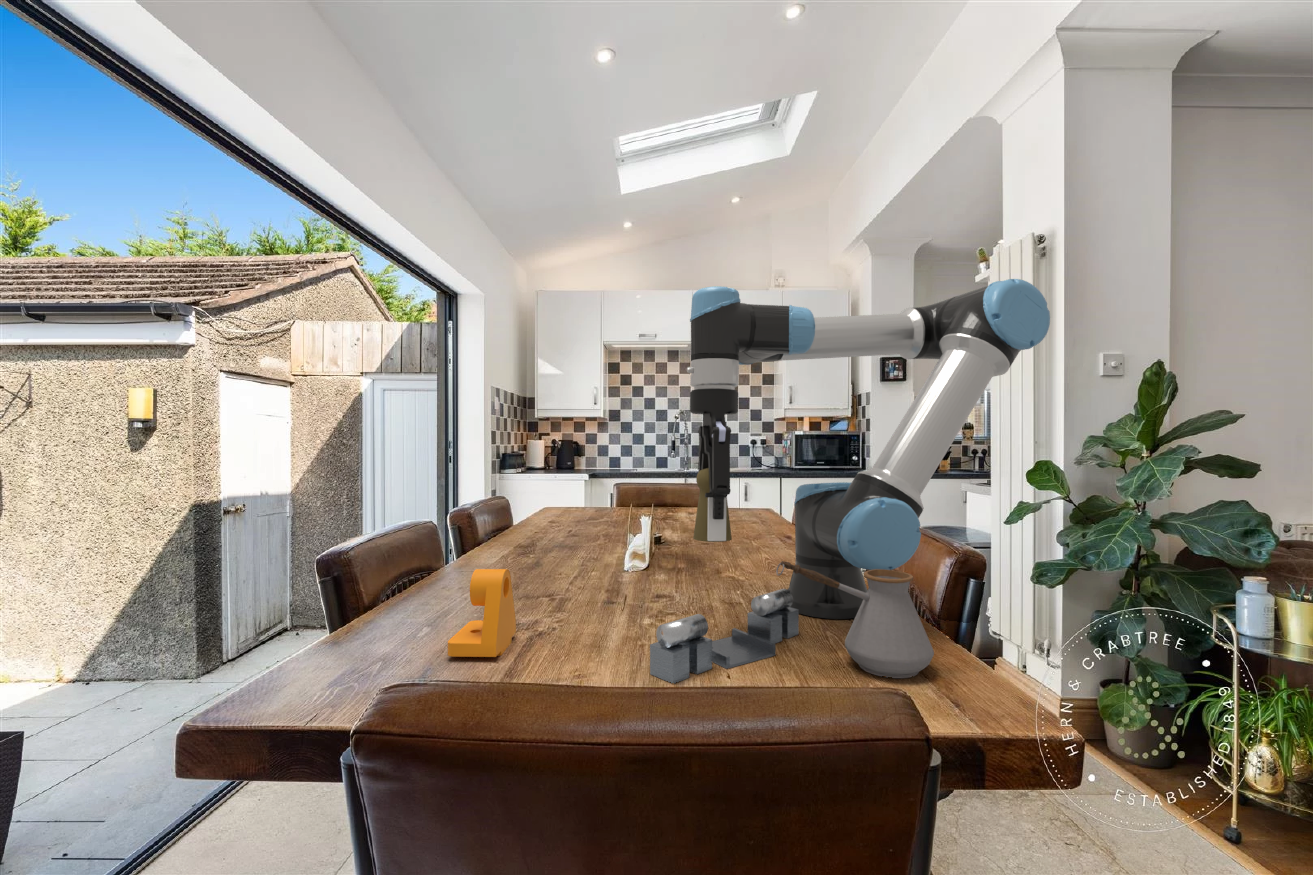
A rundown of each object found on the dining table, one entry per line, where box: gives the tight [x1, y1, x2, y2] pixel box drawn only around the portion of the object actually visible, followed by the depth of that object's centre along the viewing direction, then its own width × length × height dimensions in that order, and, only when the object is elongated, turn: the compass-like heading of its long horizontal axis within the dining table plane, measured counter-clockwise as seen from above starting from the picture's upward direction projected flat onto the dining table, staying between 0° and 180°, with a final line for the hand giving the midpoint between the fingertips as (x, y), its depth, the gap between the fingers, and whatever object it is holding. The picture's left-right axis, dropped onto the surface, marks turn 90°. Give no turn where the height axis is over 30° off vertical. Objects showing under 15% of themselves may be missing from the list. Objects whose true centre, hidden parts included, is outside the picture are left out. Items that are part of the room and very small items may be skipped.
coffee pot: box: [775, 560, 935, 679], centre depth 83 cm, size 21×12×15 cm, turn 95°
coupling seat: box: [712, 627, 777, 670], centre depth 90 cm, size 9×9×2 cm
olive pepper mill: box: [692, 468, 733, 543], centre depth 95 cm, size 6×6×11 cm
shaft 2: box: [747, 588, 800, 644], centre depth 97 cm, size 8×4×7 cm, turn 133°
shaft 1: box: [649, 613, 713, 684], centre depth 82 cm, size 8×4×7 cm, turn 133°
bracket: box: [447, 568, 517, 658], centre depth 92 cm, size 11×7×12 cm, turn 178°
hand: (712, 536), depth 95 cm, fingers closed on olive pepper mill, 6 cm apart
